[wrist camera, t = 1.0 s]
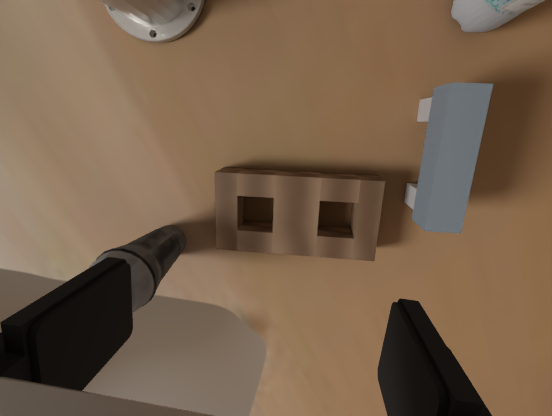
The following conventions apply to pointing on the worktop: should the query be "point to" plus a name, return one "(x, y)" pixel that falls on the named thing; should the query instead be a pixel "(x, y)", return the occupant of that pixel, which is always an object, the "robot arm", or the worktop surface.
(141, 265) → the beverage cup
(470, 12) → the bottle
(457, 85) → the grey block
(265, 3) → the worktop surface
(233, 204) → the brown rectangular block
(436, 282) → the worktop surface
